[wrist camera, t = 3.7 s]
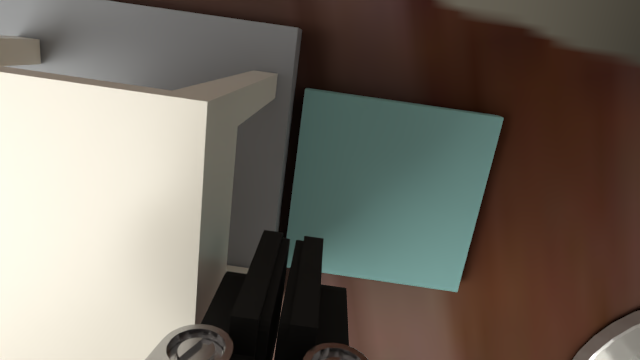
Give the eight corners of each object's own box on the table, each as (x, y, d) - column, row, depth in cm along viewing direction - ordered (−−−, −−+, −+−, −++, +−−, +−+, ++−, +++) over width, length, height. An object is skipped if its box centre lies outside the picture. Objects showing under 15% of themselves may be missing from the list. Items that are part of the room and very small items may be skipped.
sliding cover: (277, 73, 18) (207, 101, 8) (255, 287, 21) (185, 484, 11) (15, 36, 18) (-350, 21, 8) (32, 255, 21) (-222, 425, 11)
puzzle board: (302, 29, 19) (298, 27, 17) (270, 298, 23) (264, 321, 21) (-226, -46, 19) (-289, -57, 17) (-163, 235, 23) (-208, 252, 21)
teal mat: (497, 115, 20) (504, 117, 19) (453, 283, 22) (457, 292, 22) (306, 87, 20) (304, 89, 19) (284, 259, 22) (283, 266, 22)
